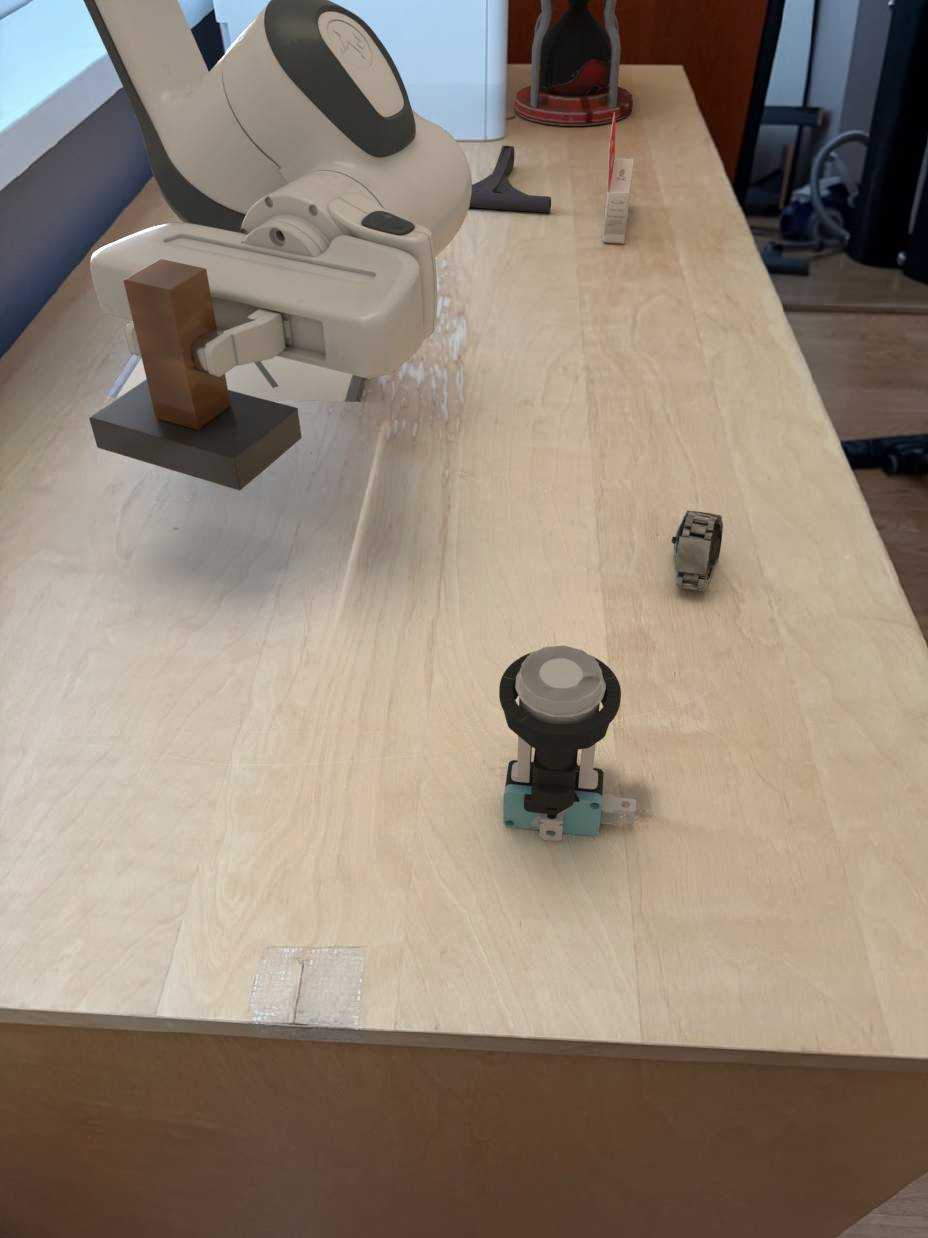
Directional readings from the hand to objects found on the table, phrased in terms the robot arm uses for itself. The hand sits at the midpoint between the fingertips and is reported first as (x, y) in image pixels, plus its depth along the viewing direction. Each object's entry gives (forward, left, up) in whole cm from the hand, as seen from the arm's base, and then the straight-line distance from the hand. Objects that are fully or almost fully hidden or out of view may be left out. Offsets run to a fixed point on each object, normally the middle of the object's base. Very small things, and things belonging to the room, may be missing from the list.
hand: (169, 353), depth 55 cm
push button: (+21, -17, -16) cm, 32 cm away
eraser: (0, +1, -6) cm, 6 cm away
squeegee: (+14, +73, -16) cm, 76 cm away
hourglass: (+23, +104, -16) cm, 108 cm away
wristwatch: (+29, +3, -16) cm, 34 cm away
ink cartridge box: (+27, +62, -16) cm, 70 cm away
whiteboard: (-5, +28, -16) cm, 33 cm away
